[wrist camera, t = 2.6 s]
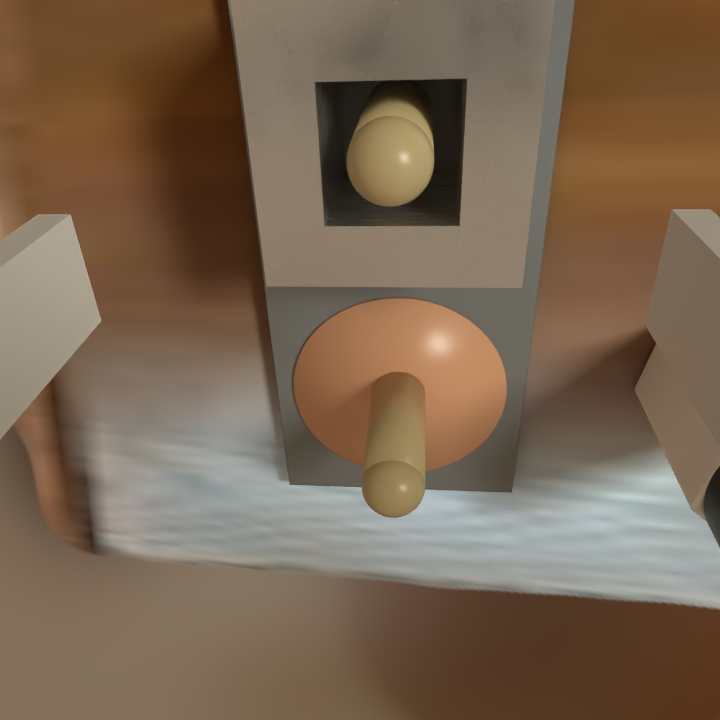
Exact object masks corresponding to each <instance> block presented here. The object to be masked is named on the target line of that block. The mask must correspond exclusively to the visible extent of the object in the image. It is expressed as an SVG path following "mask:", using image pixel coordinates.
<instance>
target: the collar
mask: <svg viewBox="0 0 720 720" xmlns="http://www.w3.org/2000/svg"><path fill="white" fill-rule="evenodd" d="M230 3H231V11H232V19H233V27H234V35H235V43H236V50H237V58H238V66H239V74H240V82H241V90H242V98H243V106H244V114H245V122H246V129H247V137H248V145H249V153H250V161H251V169H252V177H253V185H254V193H255V201H256V208H257V216H258V224H259V232H260V240H261V248H262V256H263V264H264V272H265V280H266V286H274V287H432V288H522V286H523V277H524V268H525V259H526V251H527V242H528V233H529V224H530V215H531V207H532V198H533V189H534V180H535V171H536V163H537V154H538V145H539V136H540V127H541V119H542V110H543V101H544V92H545V83H546V75H547V66H548V57H549V48H550V39H551V30H552V22H553V13H554V4H555V0H230ZM425 79H457V83H456V106H455V129H454V152H453V171H433V173H432V176H431V179H430V181H429V183H428V185H427V186H426V188H425V189H424V191H423V192H422V193H421V194H420V195H419V196H418V197H416V198H415V199H414V200H412V201H410V202H408V203H406V204H403V205H400V206H394V207H385V206H379V205H376V204H374V203H371V202H369V201H368V200H366V199H365V198H363V197H362V196H361V195H360V194H359V193H358V192H357V191H356V189H355V188H354V186H353V185H352V183H351V181H350V178H349V175H348V172H344V154H343V133H342V112H341V91H340V81H382V80H425Z"/></svg>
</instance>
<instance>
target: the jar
mask: <svg viewBox="0 0 720 720" xmlns="http://www.w3.org/2000/svg"><path fill="white" fill-rule="evenodd" d="M635 393H636V395H637V397H638V399H639V401H640V403H641V405H642V407H643V409H644V412H645V414H646V416H647V418H648V420H649V422H650V424H651V426H652V428H653V430H654V432H655V435H656V437H657V439H658V441H659V443H660V445H661V447H662V449H663V451H664V453H665V455H666V458H667V460H668V462H669V464H670V466H671V468H672V470H673V472H674V474H675V476H676V478H677V481H678V483H679V485H680V487H681V489H682V491H683V493H684V495H685V497H686V499H687V502H688V504H689V506H690V508H691V509H692V510H693V511H694V512H695V513H696V514H698V515H699V516H700V517H702V518H703V519H704V520H705V521H707V523H708V525H709V527H710V529H711V531H712V533H713V535H714V537H715V539H716V541H717V543H718V545H719V547H720V448H719V446H718V444H717V443H716V441H715V439H714V438H713V436H712V435H711V433H710V431H709V430H708V428H707V426H706V425H705V423H704V421H703V420H702V418H701V416H700V415H699V413H698V411H697V410H696V408H695V407H694V405H693V403H692V402H691V400H690V398H689V397H688V395H687V393H686V392H685V390H684V388H683V387H682V385H681V383H680V382H679V380H678V378H677V377H676V375H675V374H674V372H673V370H672V369H671V367H670V365H669V364H668V362H667V360H666V359H665V357H664V355H663V354H662V352H661V350H660V349H659V347H658V346H657V344H656V345H655V347H654V349H653V351H652V353H651V355H650V357H649V359H648V361H647V363H646V365H645V368H644V370H643V372H642V374H641V376H640V378H639V380H638V382H637V384H636V386H635Z"/></svg>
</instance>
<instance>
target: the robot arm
mask: <svg viewBox="0 0 720 720" xmlns="http://www.w3.org/2000/svg"><path fill="white" fill-rule="evenodd" d="M100 322H101V318H100V314H99V311H98V308H97V304H96V301H95V297H94V294H93V291H92V287H91V284H90V280H89V277H88V273H87V270H86V267H85V263H84V260H83V256H82V253H81V249H80V246H79V243H78V239H77V236H76V232H75V229H74V225H73V222H72V219H71V215H70V214H50V215H37V216H35V217H34V218H32V219H31V220H29V221H28V222H27V223H25V224H24V225H22V226H21V227H19V228H18V229H17V230H15V231H14V232H12V233H11V234H9V235H8V236H7V237H5V238H4V239H2V240H1V241H0V439H1V438H2V437H3V436H4V435H5V433H6V432H7V431H8V430H9V429H10V428H11V426H12V425H13V424H14V423H15V422H16V421H17V419H18V418H19V417H20V416H21V415H22V414H23V412H24V411H25V410H26V409H27V408H28V406H29V405H30V404H31V403H32V402H33V401H34V399H35V398H36V397H37V396H38V395H39V394H40V392H41V391H42V390H43V389H44V388H45V386H46V385H47V384H48V383H49V382H50V381H51V379H52V378H53V377H54V376H55V375H56V374H57V372H58V371H59V370H60V369H61V368H62V367H63V365H64V364H65V363H66V362H67V361H68V359H69V358H70V357H71V356H72V355H73V354H74V352H75V351H76V350H77V349H78V348H79V347H80V345H81V344H82V343H83V342H84V341H85V340H86V338H87V337H88V336H89V335H90V334H91V332H92V331H93V330H94V329H95V328H96V327H97V325H98V324H99V323H100ZM645 326H646V327H647V329H648V331H649V332H650V334H651V336H652V337H653V339H654V341H655V342H656V344H657V346H658V347H659V349H660V350H661V352H662V354H663V355H664V357H665V359H666V360H667V362H668V364H669V365H670V367H671V369H672V370H673V372H674V374H675V375H676V377H677V378H678V380H679V382H680V383H681V385H682V387H683V388H684V390H685V392H686V393H687V395H688V397H689V398H690V400H691V402H692V403H693V405H694V407H695V408H696V410H697V411H698V413H699V415H700V416H701V418H702V420H703V421H704V423H705V425H706V426H707V428H708V430H709V431H710V433H711V435H712V436H713V438H714V439H715V441H716V443H717V444H718V446H719V448H720V218H719V217H718V216H717V215H716V214H715V213H714V212H713V211H712V210H710V209H679V210H672V211H671V216H670V220H669V224H668V228H667V233H666V237H665V241H664V245H663V249H662V254H661V258H660V262H659V266H658V270H657V275H656V279H655V283H654V287H653V291H652V296H651V300H650V304H649V308H648V313H647V317H646V321H645Z"/></svg>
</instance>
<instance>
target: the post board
mask: <svg viewBox="0 0 720 720" xmlns="http://www.w3.org/2000/svg"><path fill="white" fill-rule="evenodd" d="M574 3H575V0H555V4H554V13H553V22H552V30H551V39H550V48H549V57H548V66H547V75H546V83H545V92H544V101H543V110H542V119H541V127H540V136H539V145H538V154H537V163H536V171H535V180H534V189H533V198H532V207H531V215H530V224H529V233H528V242H527V251H526V259H525V268H524V277H523V286H522V288H432V287H274V286H266V280H265V272H264V264H263V256H262V248H261V240H260V232H259V224H258V216H257V208H256V201H255V193H254V185H253V177H252V169H251V161H250V153H249V145H248V137H247V129H246V122H245V114H244V106H243V98H242V90H241V82H240V74H239V66H238V58H237V50H236V43H235V35H234V27H233V19H232V11H231V3H230V0H228V7H229V15H230V23H231V31H232V38H233V46H234V54H235V62H236V70H237V77H238V85H239V93H240V101H241V108H242V116H243V124H244V132H245V140H246V147H247V155H248V163H249V171H250V179H251V186H252V194H253V202H254V210H255V217H256V225H257V233H258V241H259V249H260V256H261V264H262V272H263V280H264V288H265V295H266V303H267V311H268V319H269V326H270V334H271V342H272V350H273V358H274V365H275V373H276V381H277V389H278V396H279V404H280V412H281V420H282V428H283V435H284V443H285V451H286V459H287V467H288V474H289V482H290V485H316V486H344V487H361V488H362V493H363V496H364V499H365V501H366V502H367V504H368V505H369V506H370V507H371V508H372V509H373V510H374V511H375V512H377V513H378V514H380V515H383V516H386V517H401V516H405V515H407V514H409V513H411V512H412V511H413V510H415V509H416V508H417V506H418V505H419V504H420V502H421V500H422V499H423V496H424V493H425V489H429V490H458V491H486V492H512V487H513V479H514V471H515V463H516V455H517V448H518V440H519V432H520V424H521V416H522V409H523V401H524V393H525V385H526V377H527V370H528V362H529V354H530V346H531V338H532V331H533V323H534V315H535V307H536V300H537V292H538V284H539V276H540V268H541V261H542V253H543V245H544V237H545V229H546V222H547V214H548V206H549V198H550V190H551V183H552V175H553V167H554V159H555V151H556V144H557V136H558V128H559V120H560V112H561V105H562V97H563V89H564V81H565V74H566V66H567V58H568V50H569V42H570V35H571V27H572V19H573V11H574ZM456 83H457V79H425V80H382V81H340V91H341V112H342V133H343V154H344V172H348V175H349V178H350V181H351V183H352V185H353V186H354V188H355V189H356V191H357V192H358V193H359V194H360V195H361V196H362V197H363V198H365V199H366V200H368V201H369V202H371V203H374V204H376V205H379V206H385V207H394V206H400V205H403V204H406V203H408V202H410V201H412V200H414V199H415V198H416V197H418V196H419V195H420V194H421V193H422V192H423V191H424V189H425V188H426V186H427V185H428V183H429V181H430V179H431V176H432V173H433V171H453V152H454V129H455V106H456Z"/></svg>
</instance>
